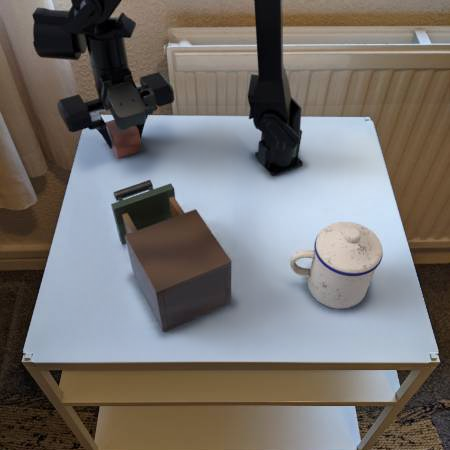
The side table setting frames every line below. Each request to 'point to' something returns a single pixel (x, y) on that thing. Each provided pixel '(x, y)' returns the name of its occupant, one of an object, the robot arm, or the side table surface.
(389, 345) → the side table surface
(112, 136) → the block
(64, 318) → the side table surface
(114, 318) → the side table surface
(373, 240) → the teacup with lid
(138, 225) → the drawer
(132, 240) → the cabinet
